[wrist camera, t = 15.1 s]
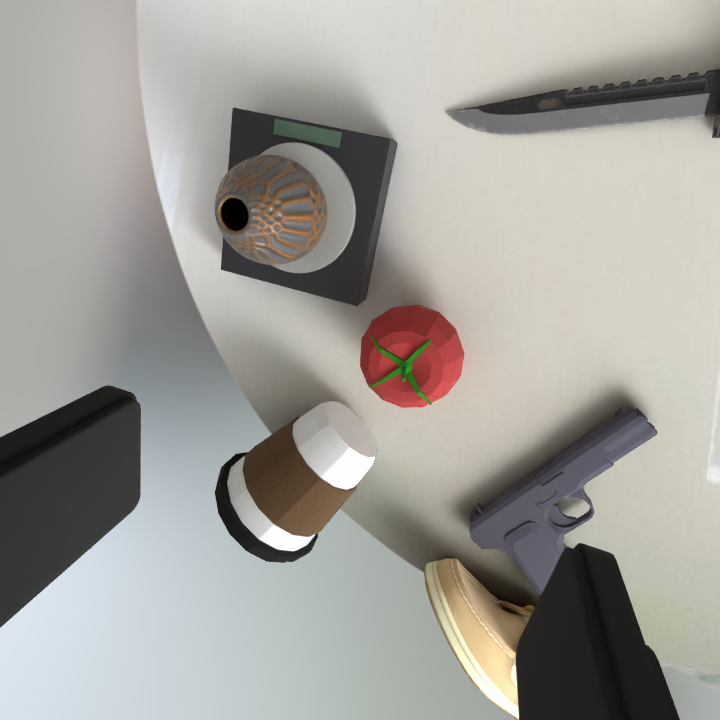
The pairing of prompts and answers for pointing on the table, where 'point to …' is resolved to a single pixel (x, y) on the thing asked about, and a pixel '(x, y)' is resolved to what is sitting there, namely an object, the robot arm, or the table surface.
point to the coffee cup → (294, 482)
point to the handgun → (554, 497)
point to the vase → (271, 209)
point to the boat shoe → (478, 629)
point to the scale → (343, 196)
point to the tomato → (411, 356)
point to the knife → (601, 106)
